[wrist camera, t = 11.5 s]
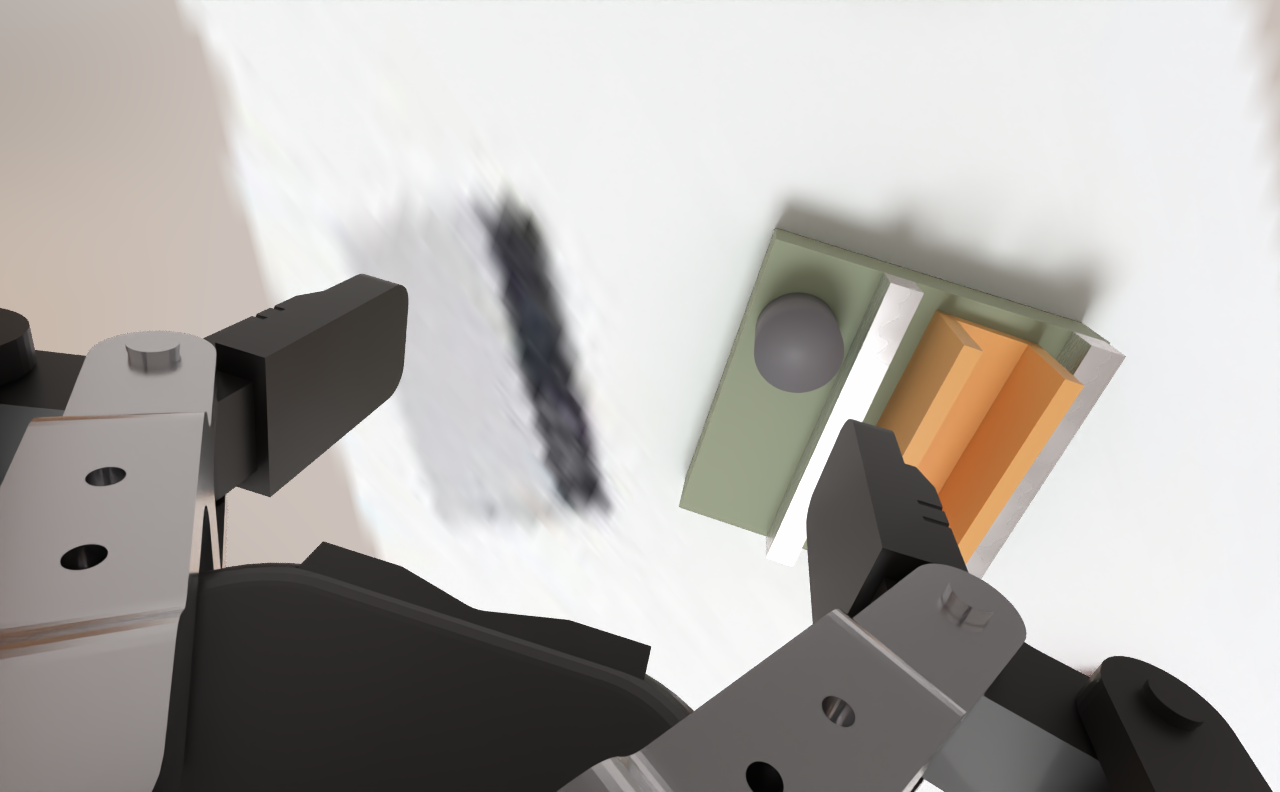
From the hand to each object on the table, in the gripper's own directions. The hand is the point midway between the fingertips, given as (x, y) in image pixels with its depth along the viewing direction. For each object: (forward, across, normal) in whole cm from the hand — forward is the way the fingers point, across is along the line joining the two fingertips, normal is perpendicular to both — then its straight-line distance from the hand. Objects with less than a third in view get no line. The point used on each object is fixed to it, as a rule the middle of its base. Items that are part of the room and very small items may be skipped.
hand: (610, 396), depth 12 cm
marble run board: (+24, -11, +9) cm, 28 cm away
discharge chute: (+21, -14, +9) cm, 27 cm away
